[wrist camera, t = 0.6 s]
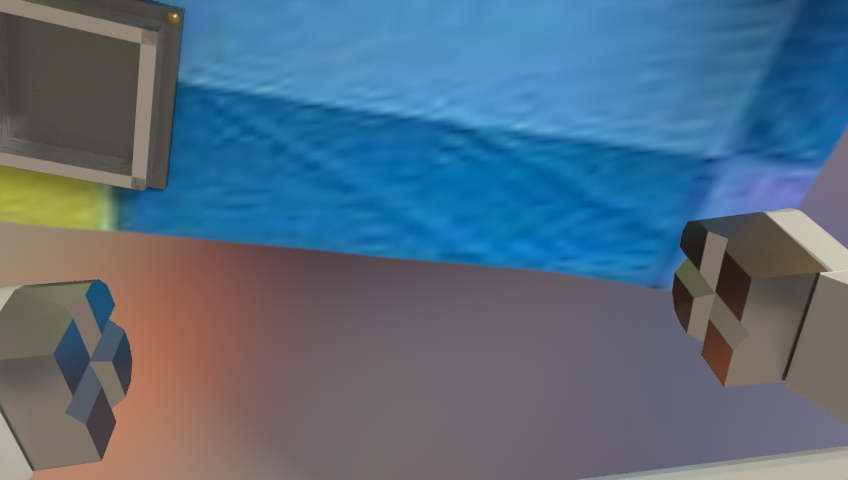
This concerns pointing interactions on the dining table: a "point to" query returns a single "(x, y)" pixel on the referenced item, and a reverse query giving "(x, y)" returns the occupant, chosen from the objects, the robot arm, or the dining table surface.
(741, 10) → the dining table surface
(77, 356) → the robot arm
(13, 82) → the grey square tray
